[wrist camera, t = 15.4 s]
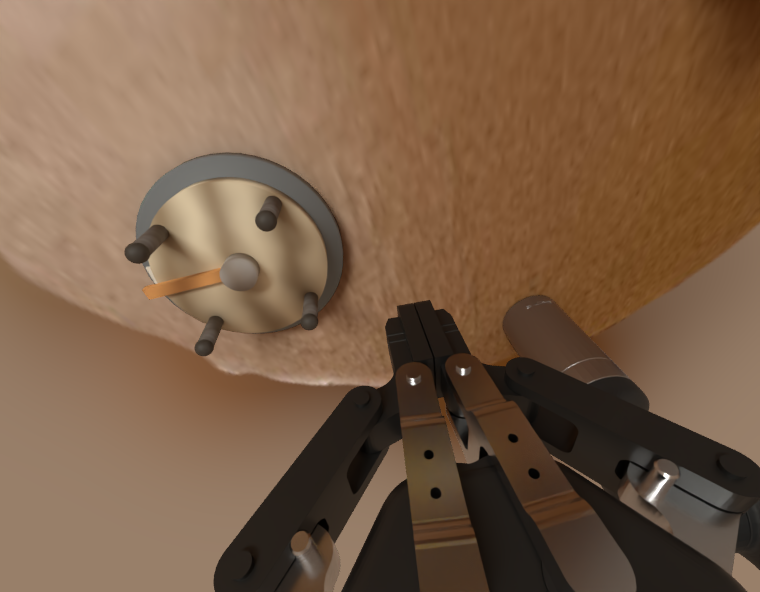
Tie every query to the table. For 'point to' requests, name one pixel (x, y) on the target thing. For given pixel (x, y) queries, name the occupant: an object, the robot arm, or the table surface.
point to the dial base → (260, 172)
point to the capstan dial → (235, 258)
